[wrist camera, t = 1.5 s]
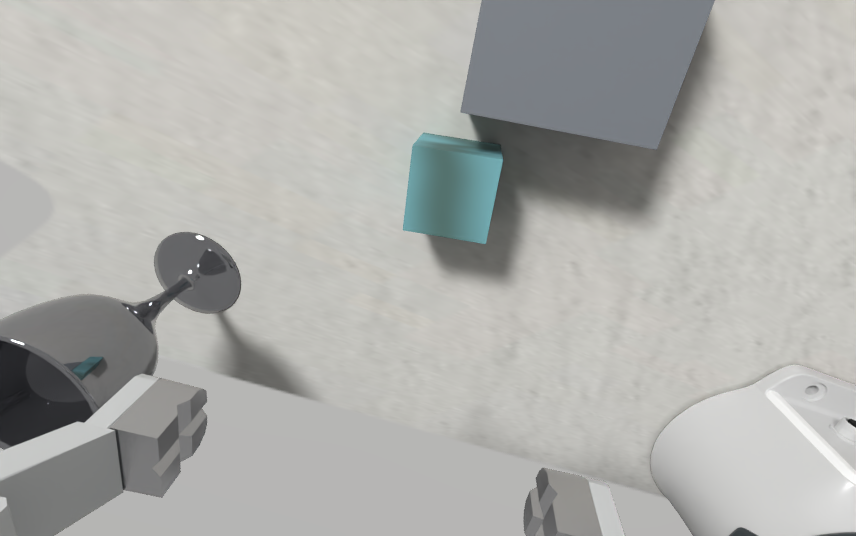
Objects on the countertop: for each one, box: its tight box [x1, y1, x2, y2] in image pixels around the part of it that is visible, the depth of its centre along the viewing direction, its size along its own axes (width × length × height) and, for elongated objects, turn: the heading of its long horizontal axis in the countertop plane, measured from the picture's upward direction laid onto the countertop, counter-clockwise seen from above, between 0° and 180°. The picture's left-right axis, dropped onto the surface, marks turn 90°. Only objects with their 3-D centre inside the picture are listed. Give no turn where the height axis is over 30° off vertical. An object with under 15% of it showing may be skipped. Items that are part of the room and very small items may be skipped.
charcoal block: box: [461, 0, 715, 150], centre depth 23 cm, size 10×10×6 cm
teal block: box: [403, 133, 503, 244], centre depth 28 cm, size 5×5×5 cm
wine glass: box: [0, 232, 241, 450], centre depth 29 cm, size 8×8×15 cm
